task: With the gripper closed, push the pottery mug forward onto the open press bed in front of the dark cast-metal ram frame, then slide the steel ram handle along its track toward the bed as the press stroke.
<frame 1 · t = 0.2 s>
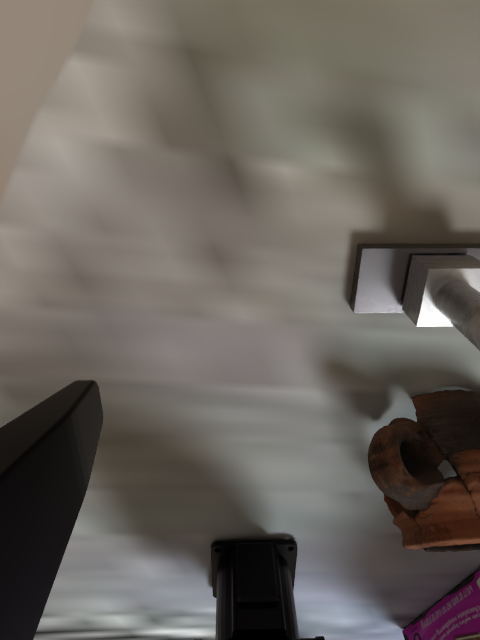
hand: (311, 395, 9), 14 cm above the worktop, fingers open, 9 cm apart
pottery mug: (421, 437, 28), on the worktop
candy bar box: (458, 601, 37), on the worktop
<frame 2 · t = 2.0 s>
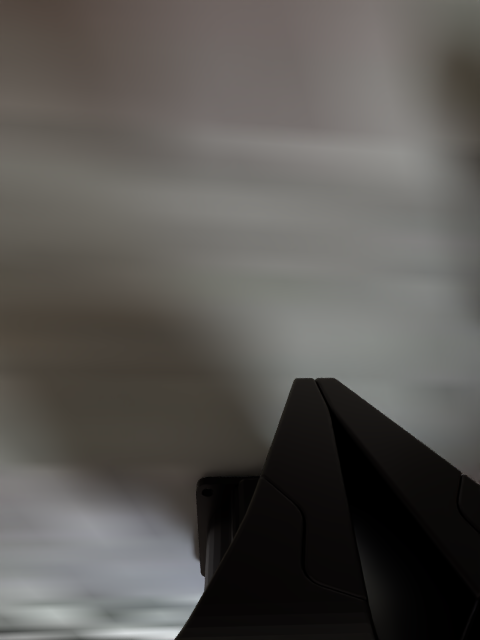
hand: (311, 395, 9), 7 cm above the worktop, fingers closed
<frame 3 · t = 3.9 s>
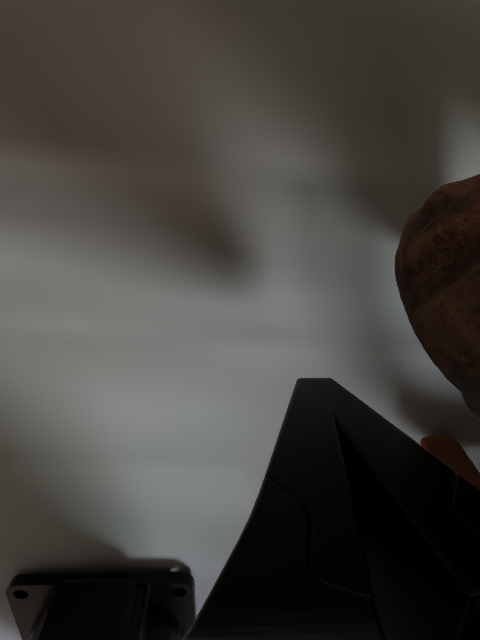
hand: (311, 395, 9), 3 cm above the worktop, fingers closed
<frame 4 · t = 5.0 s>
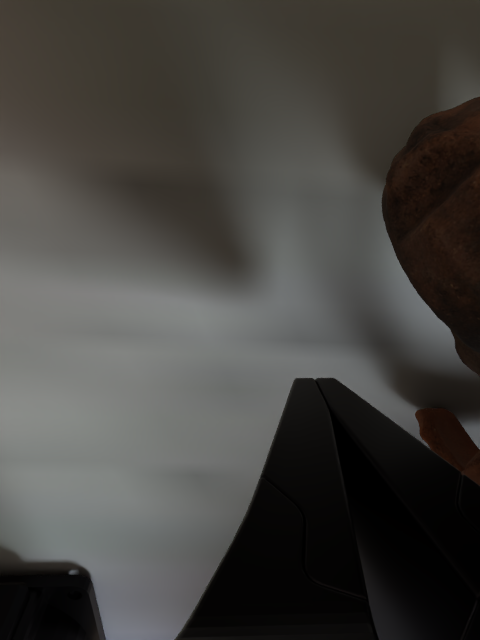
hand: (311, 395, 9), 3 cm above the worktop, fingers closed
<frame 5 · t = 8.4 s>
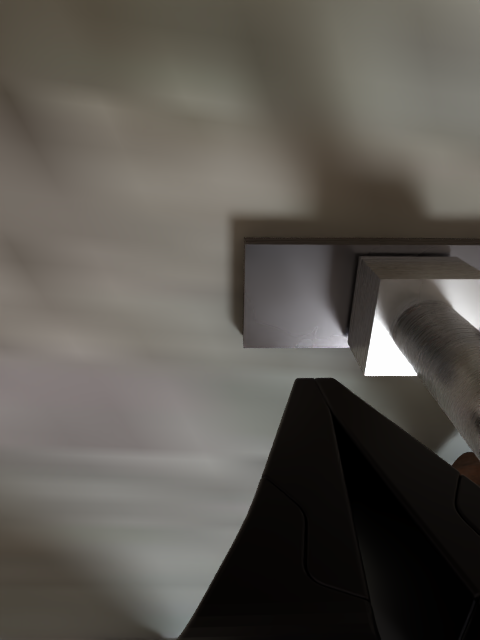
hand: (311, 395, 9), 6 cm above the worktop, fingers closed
ram track: (447, 290, 14), on the worktop
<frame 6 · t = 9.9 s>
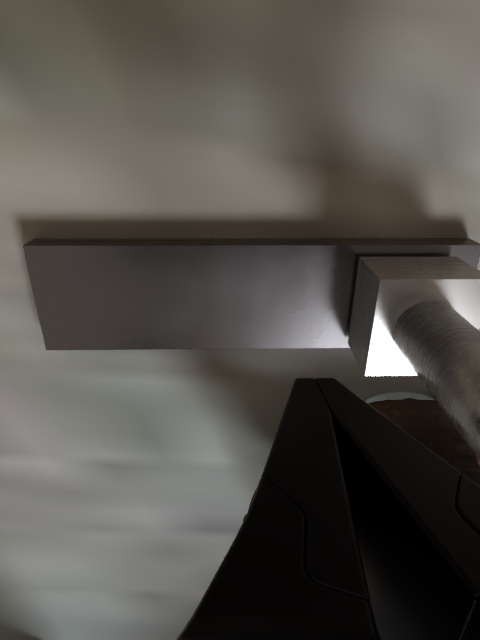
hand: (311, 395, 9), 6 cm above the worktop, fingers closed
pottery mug: (362, 471, 19), on the worktop
ram track: (253, 290, 14), on the worktop
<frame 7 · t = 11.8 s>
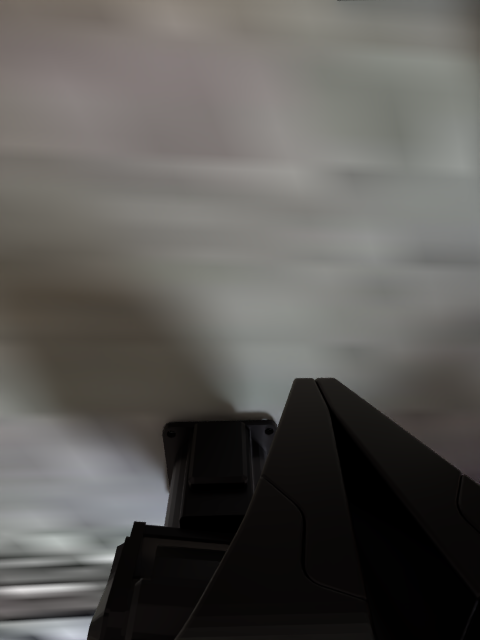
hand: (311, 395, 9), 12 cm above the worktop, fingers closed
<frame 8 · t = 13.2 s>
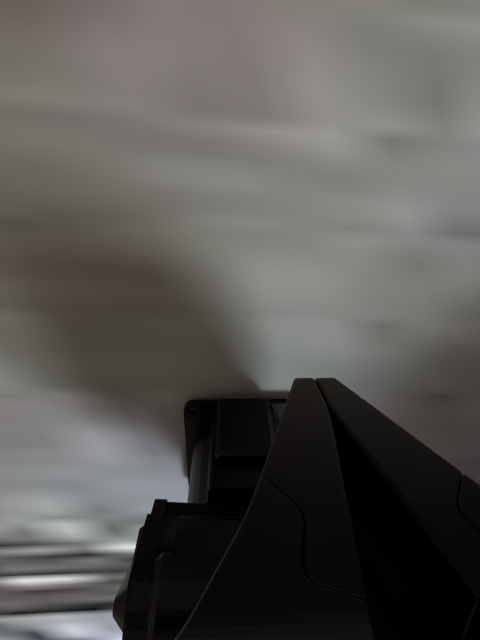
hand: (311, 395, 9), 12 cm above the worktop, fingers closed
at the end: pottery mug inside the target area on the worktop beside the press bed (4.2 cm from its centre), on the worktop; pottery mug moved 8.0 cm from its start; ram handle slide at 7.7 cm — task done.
